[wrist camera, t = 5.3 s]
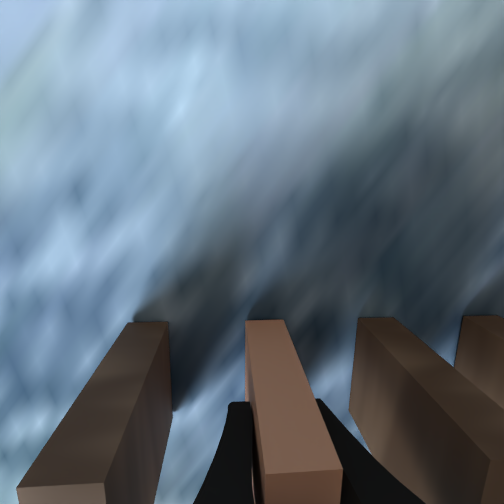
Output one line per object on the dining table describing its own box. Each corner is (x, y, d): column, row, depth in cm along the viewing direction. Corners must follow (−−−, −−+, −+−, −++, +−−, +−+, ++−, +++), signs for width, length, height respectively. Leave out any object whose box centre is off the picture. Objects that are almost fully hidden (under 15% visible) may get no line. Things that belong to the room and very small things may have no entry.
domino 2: (393, 317, 14) (559, 455, 7) (381, 408, 15) (515, 607, 8) (358, 318, 14) (490, 459, 7) (348, 410, 15) (454, 612, 8)
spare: (283, 319, 13) (343, 469, 6) (280, 413, 14) (328, 625, 8) (245, 320, 13) (265, 474, 6) (245, 414, 14) (262, 633, 7)
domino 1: (168, 321, 13) (103, 482, 6) (172, 417, 14) (122, 645, 7) (127, 322, 13) (16, 487, 6) (135, 419, 14) (48, 653, 7)
